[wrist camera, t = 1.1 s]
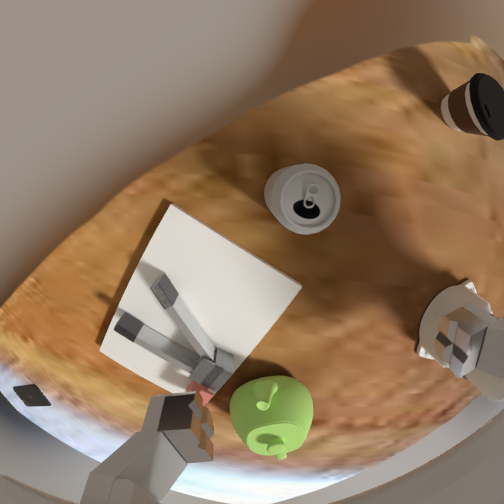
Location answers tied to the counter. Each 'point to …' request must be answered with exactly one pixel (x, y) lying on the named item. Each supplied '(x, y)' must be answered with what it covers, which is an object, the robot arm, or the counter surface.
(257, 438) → the teapot
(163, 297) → the tongs arm
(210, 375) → the tongs fixed
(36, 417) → the counter surface
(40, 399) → the smartphone
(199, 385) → the lock tab
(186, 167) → the counter surface
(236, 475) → the counter surface
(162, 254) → the board
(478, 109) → the coffee cup
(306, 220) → the can
